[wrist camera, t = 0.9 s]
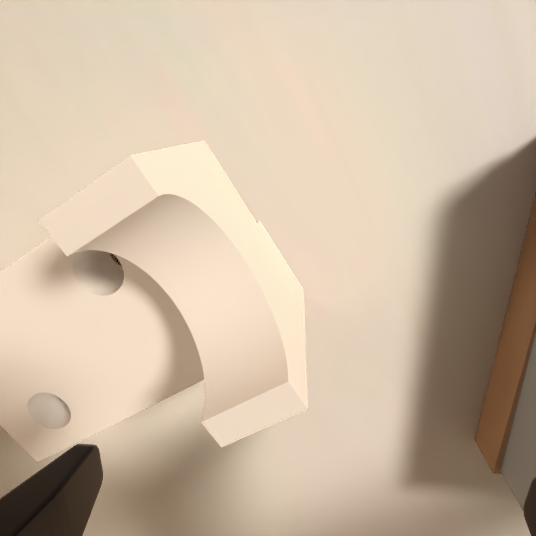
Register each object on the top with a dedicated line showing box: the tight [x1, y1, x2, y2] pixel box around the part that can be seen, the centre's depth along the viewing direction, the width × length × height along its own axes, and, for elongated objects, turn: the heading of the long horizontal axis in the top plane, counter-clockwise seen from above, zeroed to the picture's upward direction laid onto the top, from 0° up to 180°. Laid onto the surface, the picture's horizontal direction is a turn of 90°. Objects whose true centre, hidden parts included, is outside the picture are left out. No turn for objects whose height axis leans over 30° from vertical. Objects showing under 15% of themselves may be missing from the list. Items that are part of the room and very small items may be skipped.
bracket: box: [0, 140, 308, 462], centre depth 14 cm, size 13×7×8 cm, turn 122°
